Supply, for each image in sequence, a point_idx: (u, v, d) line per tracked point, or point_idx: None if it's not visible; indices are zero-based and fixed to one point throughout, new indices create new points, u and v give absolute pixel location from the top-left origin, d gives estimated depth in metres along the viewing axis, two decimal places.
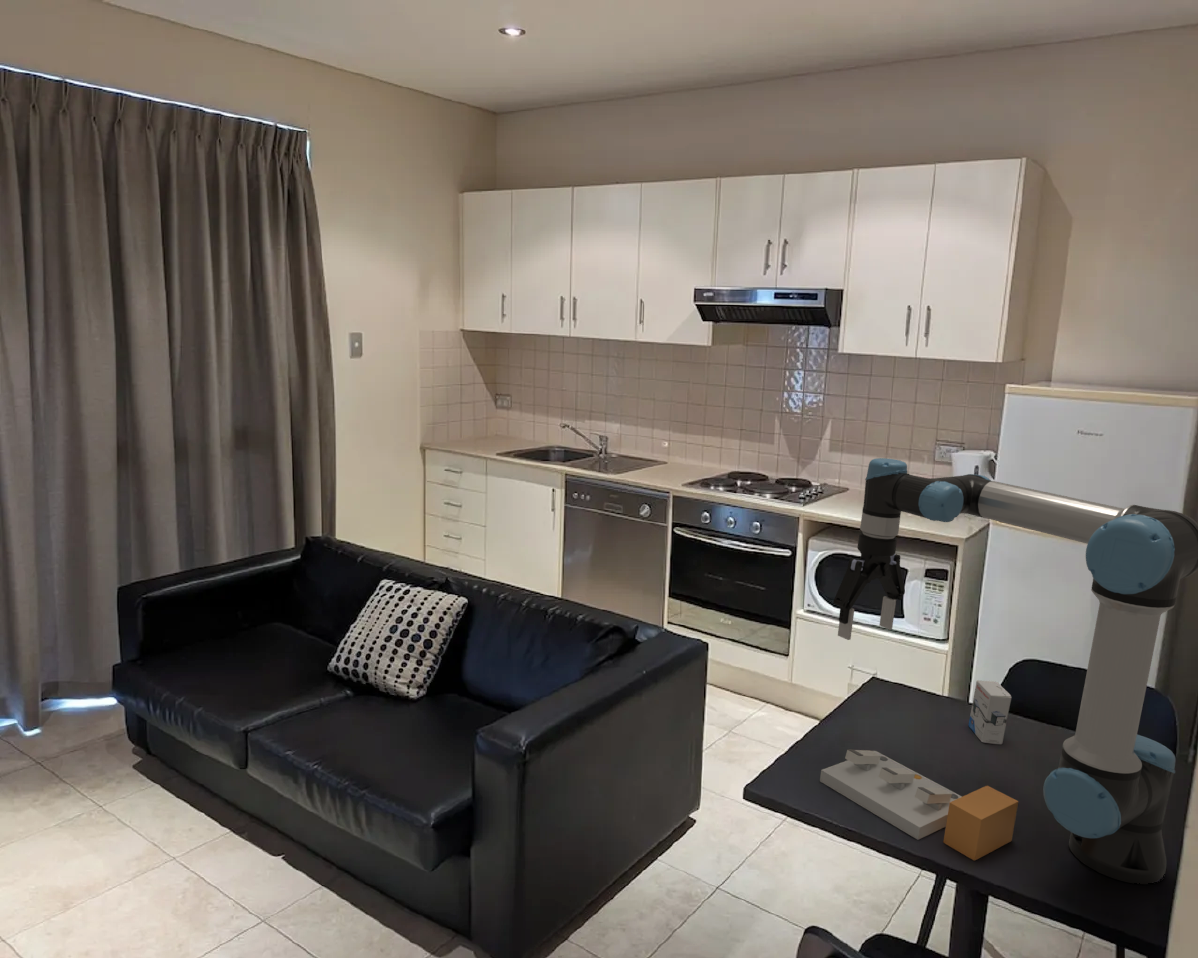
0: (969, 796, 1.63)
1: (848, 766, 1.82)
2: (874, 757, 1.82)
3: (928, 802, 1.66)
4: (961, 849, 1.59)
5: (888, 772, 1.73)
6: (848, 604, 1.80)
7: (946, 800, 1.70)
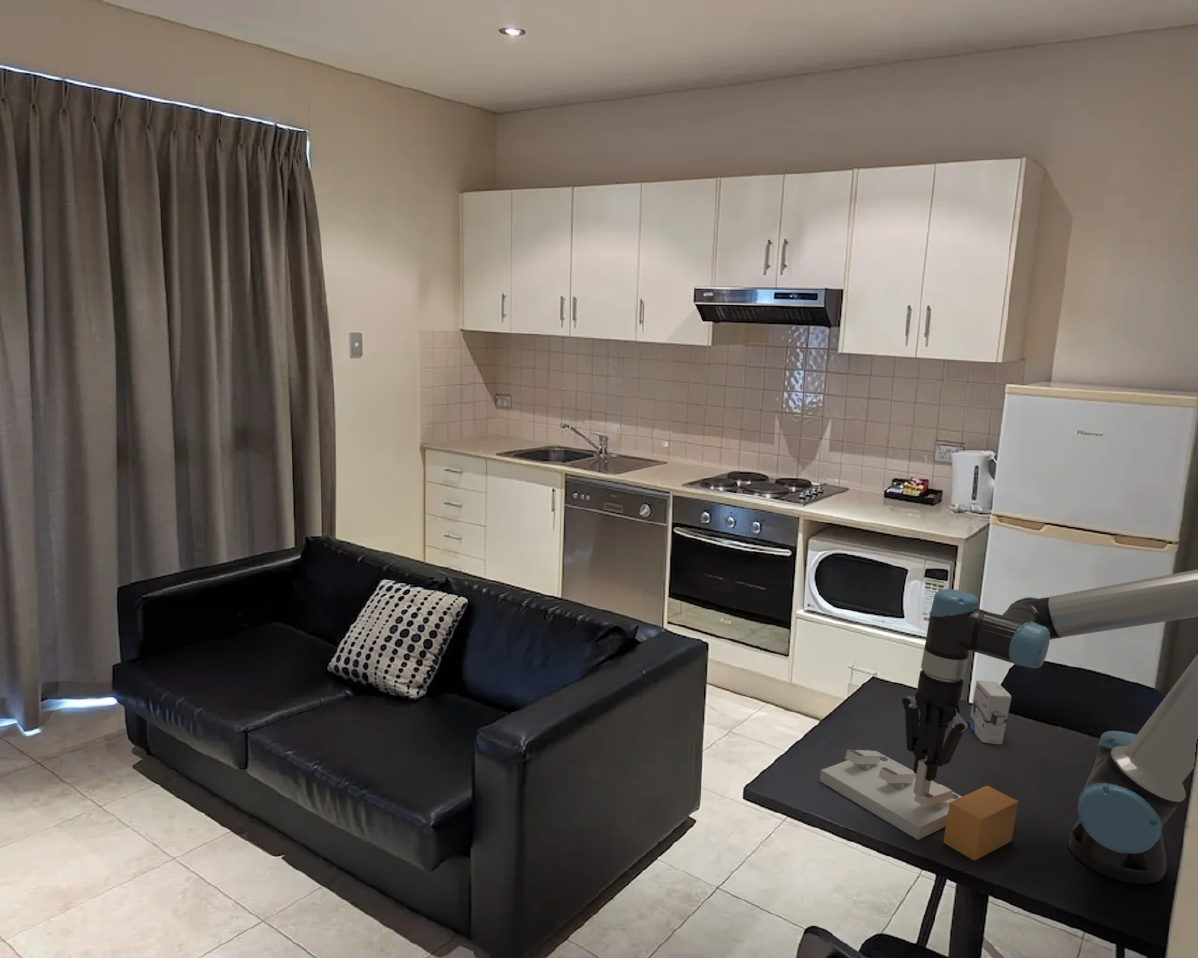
0: (969, 796, 1.63)
1: (848, 766, 1.82)
2: (874, 757, 1.82)
3: (927, 805, 1.66)
4: (961, 849, 1.59)
5: (888, 772, 1.73)
6: None
7: (946, 797, 1.70)
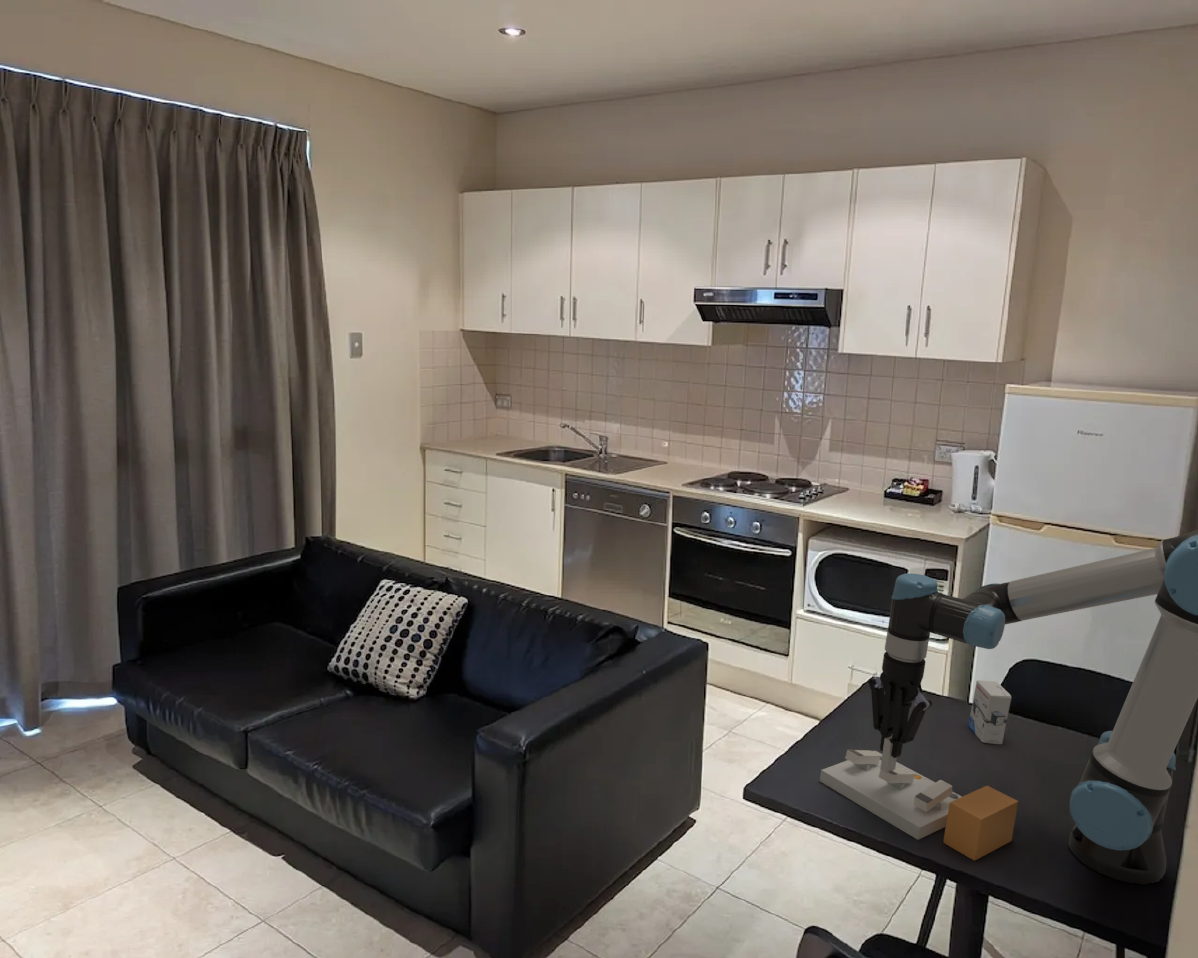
0: (969, 796, 1.63)
1: (848, 766, 1.82)
2: (874, 757, 1.82)
3: (927, 809, 1.66)
4: (961, 849, 1.59)
5: (888, 772, 1.73)
6: None
7: (947, 794, 1.69)
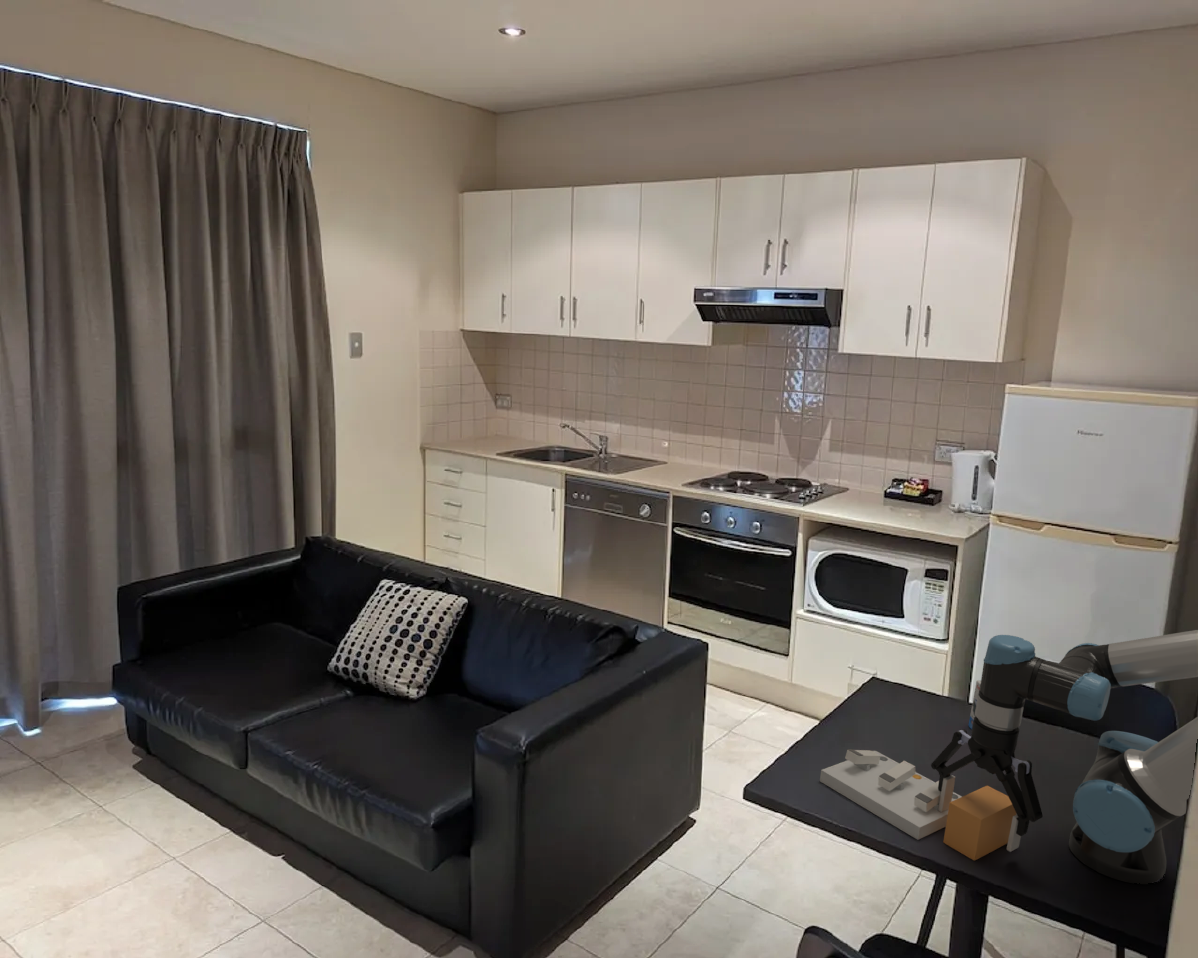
0: (969, 796, 1.63)
1: (848, 766, 1.82)
2: (874, 757, 1.82)
3: (927, 809, 1.66)
4: (961, 849, 1.59)
5: (885, 781, 1.73)
6: (940, 770, 1.67)
7: None
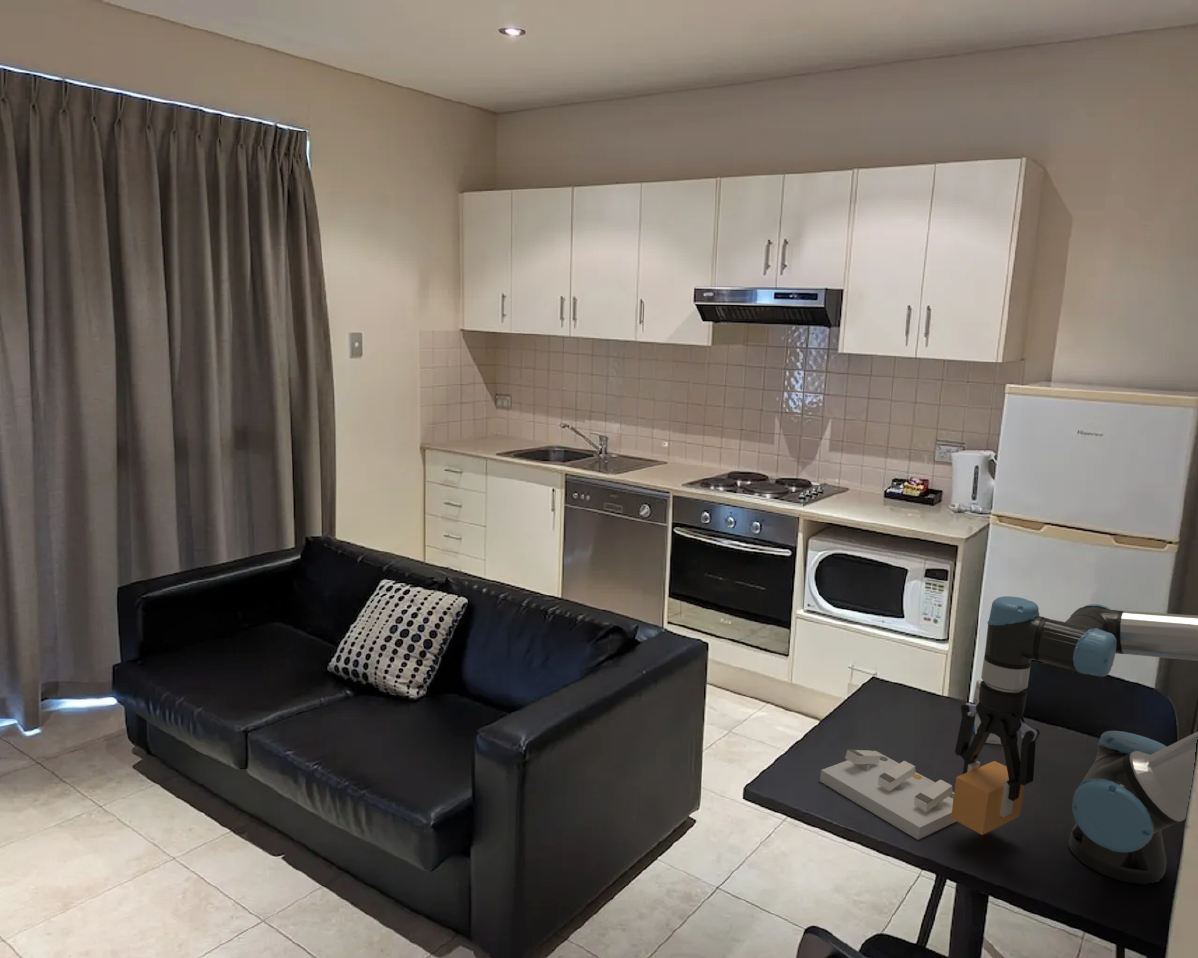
0: (976, 771, 1.62)
1: (848, 766, 1.82)
2: (874, 757, 1.82)
3: (927, 809, 1.66)
4: (968, 824, 1.58)
5: (885, 781, 1.73)
6: None
7: (947, 794, 1.69)
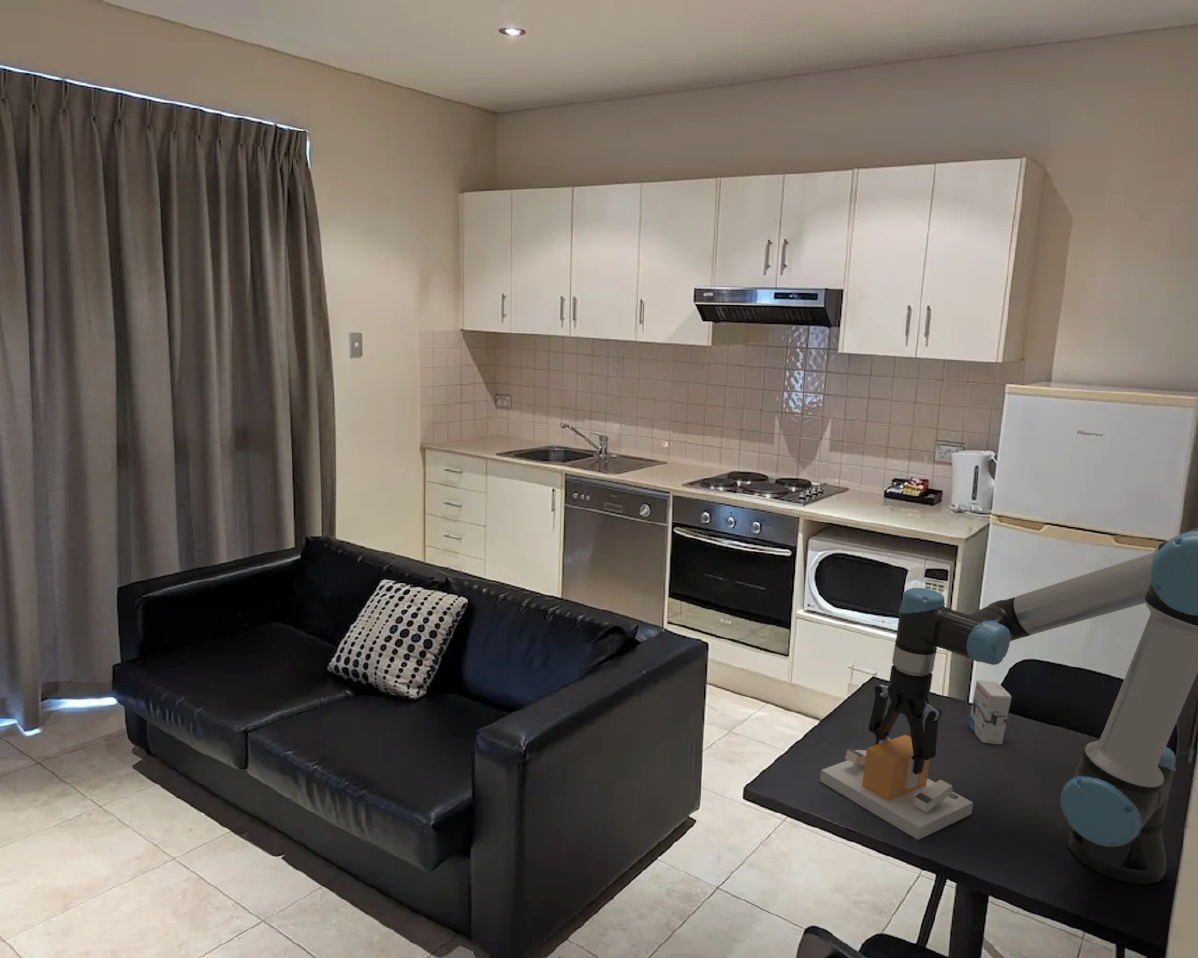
0: (886, 743, 1.76)
1: (848, 766, 1.82)
2: None
3: (927, 809, 1.66)
4: (876, 791, 1.72)
5: None
6: None
7: (947, 794, 1.69)
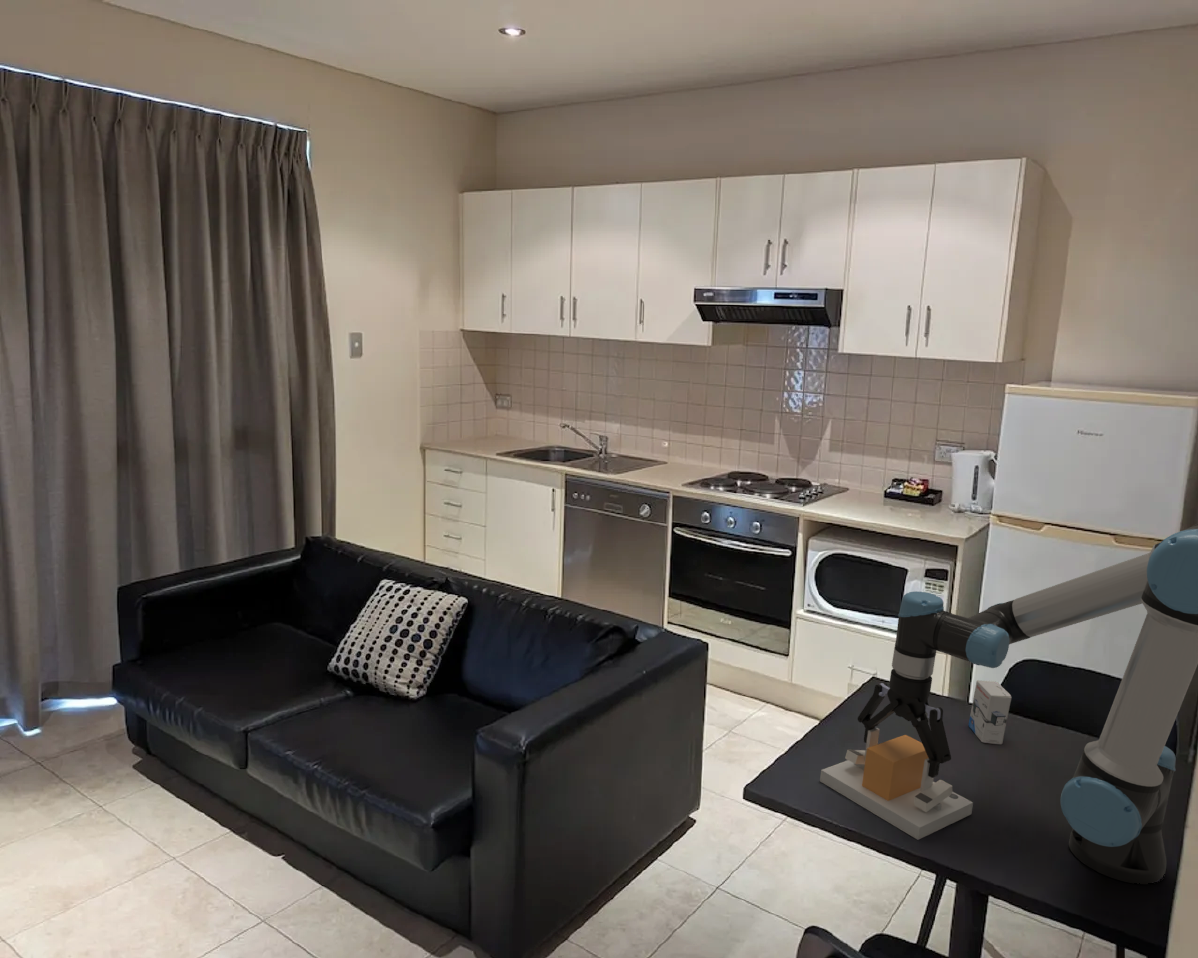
0: (886, 743, 1.76)
1: (848, 766, 1.82)
2: None
3: (927, 809, 1.66)
4: (876, 791, 1.72)
5: None
6: (865, 723, 1.80)
7: (947, 794, 1.69)
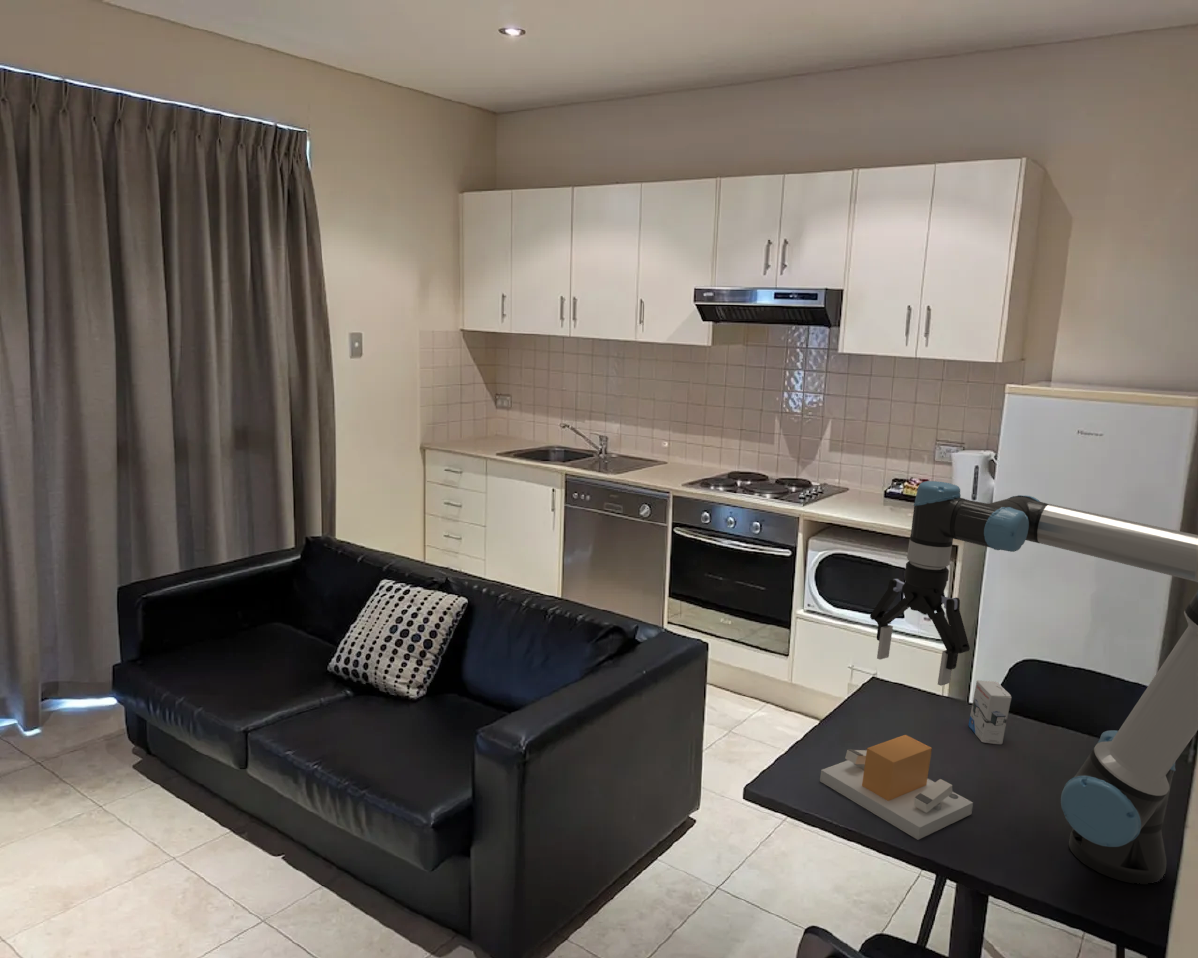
0: (886, 743, 1.76)
1: (848, 766, 1.82)
2: None
3: (927, 810, 1.66)
4: (876, 791, 1.72)
5: None
6: (878, 619, 1.76)
7: (947, 793, 1.69)
